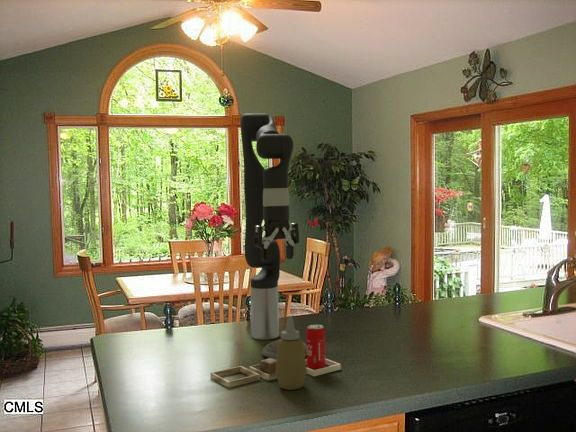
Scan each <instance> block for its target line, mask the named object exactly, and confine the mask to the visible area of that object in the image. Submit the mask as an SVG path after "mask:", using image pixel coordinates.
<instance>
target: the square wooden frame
mask: <svg viewBox="0 0 576 432" xmlns="http://www.w3.org/2000/svg"><path fill="white" fill-rule="evenodd" d="M248 369H249V370H251V371H253V372H255V373H258V374H260V379H263V380H265V381H267V382H270V381H272V380H278V379H277V376H276V373H272V374H267V373H264V372H262V371H260V363H258V364H254V365H249V366H248Z"/></svg>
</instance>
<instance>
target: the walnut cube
mask: <svg viewBox="0 0 576 432" xmlns="http://www.w3.org/2000/svg"><path fill="white" fill-rule="evenodd" d="M276 361H277V359H273V358H268V357H267V358H265V359H262V360H260V361H259V364H260V371H262V372H264V373H267V374H272V373H276Z"/></svg>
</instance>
